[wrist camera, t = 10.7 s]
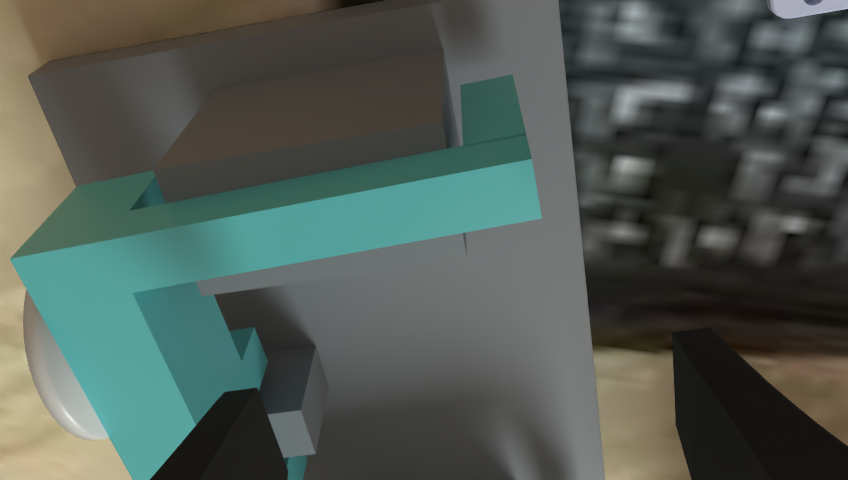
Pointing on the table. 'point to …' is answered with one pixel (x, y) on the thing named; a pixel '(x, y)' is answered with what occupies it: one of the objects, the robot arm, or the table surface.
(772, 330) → the table surface
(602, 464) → the display stand
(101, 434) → the teal angled bar frame
